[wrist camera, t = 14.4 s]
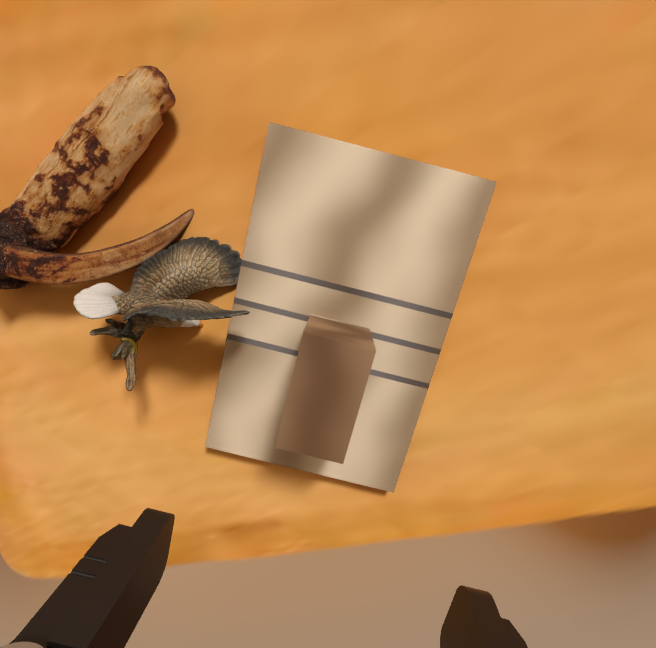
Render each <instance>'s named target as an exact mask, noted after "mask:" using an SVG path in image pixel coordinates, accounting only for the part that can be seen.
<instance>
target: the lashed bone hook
mask: <svg viewBox="0 0 656 648" xmlns="http://www.w3.org/2000/svg"><path fill="white" fill-rule="evenodd" d="M175 101H176V100H175V96H174V94H173V92H172V91H171V89H170V88H169V83H168V81H167V79H166V77H165V75H164V74H163V73H162V72H161V71H159V69H158V68H156V67H153V66H139V67H136V68H134V69H132V70H130V71H129V72H128V73H127V74H126V75H125V76H123V77H122V76H118V77H117V78H116V79H115V80H114V81H112V82H111V83H109V84H108V85H107V86H106V87H105V88H104V90H103V91H102V92H100V93H99V94H98V95H97V96H96V97H95V99H94V100H93V101H92V102H91V103H90V105H89V106H88V107H87V108H86V109H85V110H84V111H83V113H82V114H80V115H79V117H78V118H77V119H76V120H74V121H73V123H72V124H71V125H70V126H69V127H68V129H67V130H66V132H65V133H64V134H63V135H62V136H61V137H60V139H59V140H58V141H57V142H56V144H55V147H54V149H53V150H52V151H51V152H50V153H49V154H48V155H47V157H46V158H45V159H44V160H43V161H42V162H41V163H40V165H39V166H38V167H37V169H36V171H35V173H34V174H33V175H32V177H31V178H30V179H29V180H28V182H27V184H26V186H25V187H24V188H23V190H22V191H21V193H20V194H19V195H18V196H17V197H16V198H15V200H14V202H13V203H12V204H11V205H10V206H9V207H8V208H6V209H4V210H3V211H2V212H1V213H0V289H18V288H21V287H25V286H26V285H27V284H28V283H30V282H35V283H43V284H63V285H67V284H77V283H85V282H90V281H95V280H99V279H102V278H106V277H109V276H112V275H116V274H118V273H121V272H124V271H126V270H129V269H132V268H134V267H136V266H138V265H140V264H142V263H143V262H145V260H146V259H148V258H150V257H151V256H155V255H156V254H157V253H158V252H161V251H162V250H164V249H166V248H167V247H168V246H169V245H170V244H171V243H172V242H173V241H175V240H176V238H177V237H178V236H179V235H180V234H181V233H182V232H183V231H184V229H185V228H186V227H187V225H188V224H189V223H190V221H191V219H192V217H193V215H194V210H193V209H191V210H188V211H187V212H185V213H184V214H182V215H181V216H179V217H178V218H176V219H175V220H173V221H171V222H170V223H168V224H166V225H165V226H163V227H161V228H159V229H157V230H155V231H153V232H151V233H149V234H147V235H145V236H143V237H140V238H138V239H135V240H132V241H129V242H126V243H123V244H120V245H116V246H113V247H109V248H105V249H102V250H97V251H92V252H86V253H75V254H60V253H57V252H58V251H59V250H60V249H61V248H62V247H64V246H65V245H66V244H67V243H69V241H70V240H71V239H72V237H73V236H74V235H75V233H76V231H77V230H78V229H79V228H81V227H82V226H83V225H84V224H85V223H87V222H88V220H90V218H91V216H92V215H93V214H95V213H98V212H99V211H100V210H101V209H102V207H103V206H104V205H105V203H106V202H107V201H108V200H109V199H110V198H112V197H113V196H114V194H115V193H116V192H117V191H118V189H119V188H121V186H122V184H123V182H124V180H125V177H126V175H127V173H128V172H129V171H130V169H131V168H132V166H133V165H134V164H135V162H136V161H137V160H138V159H139V158H140V157H141V155H142V154H143V153H144V152H145V151H146V149H147V148H148V146H149V143H150V142H151V140H152V139H153V138H154V136H155V135H156V133H157V132H158V130H159V129H160V128H161V126H162V125H163V123H164V120H163V115H164V113H165V112H166V111H167V110H169V109H170V108H172V107H173V106H174V104H175Z"/></svg>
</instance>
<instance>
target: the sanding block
mask: <svg viewBox="0 0 656 648" xmlns="http://www.w3.org/2000/svg"><path fill="white" fill-rule="evenodd" d="M375 353H376V348H375V345H374V341H373V338H372V335H371V332H370V329H369V328H365V327H361V326H357V325H353V324H349V323H345V322H341V321H337V320H334V319H330V318H326V317H322V316H318V315H314V314H310V317H309V319H308V322H307V324H306V327H305V329H304V332H303V335H302V339H301V344H300V348H299V352H298V356H297V360H296V364H295V368H294V372H293V376H292V380H291V384H290V389H289V393H288V397H287V401H286V405H285V409H284V413H283V417H282V421H281V425H280V429H279V433H278V438H277V442H276V446H275V448H279V449H283V450H287V451H291V452H295V453H299V454H303V455H307V456H312V457H316V458H320V459H324V460H328V461H332V462H336V463H340V464H343V463H344V459H345V456H346V452H347V449H348V446H349V442H350V439H351V435H352V432H353V428H354V425H355V422H356V418H357V415H358V411H359V408H360V405H361V401H362V398H363V394H364V391H365V388H366V384H367V381H368V377H369V374H370V370H371V367H372V364H373V360H374V357H375Z"/></svg>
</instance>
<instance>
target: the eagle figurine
mask: <svg viewBox="0 0 656 648" xmlns="http://www.w3.org/2000/svg"><path fill="white" fill-rule="evenodd" d="M218 243H219V241H218V240H210V239H209V238H207V237H197V238H193V237H191V238H189V239H183V240H181V241H180V242H179V243H175V244H173V245H171V246H169V247H168V248H167V249H164V250H162V251H161V252H158V253H157V254H156V255H155V256H151V257H150V258H148V259H146V260H145V262H143V263H142V264H141V266H140V267H139V268H137V269H136V273H134V279H133V280H132V286H131V287H129V290H130V291H129V292H126V293H125V292H123V291H121V290H120V289H118V288H116V287H115V286H114V285H112V284H110V283H98V284H96V285H93V286H91V287H89V288H86V289H83V290H81V292H80V293H78V294H76V295H75V296H74V302H73V304H74V306H75V308H76V310H77V311H78V312H79V313H80V315H82V316H84V317H86V318H88V319H100V318H105V317H108V316H112V315H114V314H123V315H125V316H124V317H123V318H122V319H123V320H122V321H126V320H128V322H127V324H125V323H121V322H117V321H115V320H113V319H105V320H106V322H107V323H108V324H110V325H112V326H107V327H104V328H98V329H94V330H92V331H91V332H90V335H99V334H105V335H111V336H114V337H116V338H120V337H121V342H122V343H121V344H120V345H119V346H118V347H117V348H116V349H115V350H114V352H113V353H112V354H111V358H112V359H114V360H120V359H123V358H124V360H125V364H126V370H127V379H126V388H127V390H128V391H131V390H132V388H133V387H134V384H135V382H136V379H137V377H136V362H135V358H136V355H137V349H138V343H137V342H138V340H139V339H140V337H141V335H142V334H143V333H144V330H145V329H147V328H149V327H152V326H158V327H165V328H174V327H195V326H198V327H200V328H202V327H203V323H202V322H201V321H200V320H207V319H222V318H231V317H233V316H239V315H247V314H249V313H250V311H246V310H241V311H229V310H223V309H220V308H218V307H217V306H214V305H211V304H209V303H207V302H204V301H201V300H190V299H186V298H187V297H188V296H190V295H192V294H195V293H198V292H201V291H203V290H206V289H209V288H213V287H225V286H232V285H236V284H237V283H238V278H239V273H240V268H241V263H242V259H241V258H240V253H239V252H238V251H233V250H231V246H230V245H227V244H222V245H219V244H218Z"/></svg>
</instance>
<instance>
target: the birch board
mask: <svg viewBox="0 0 656 648" xmlns="http://www.w3.org/2000/svg"><path fill="white" fill-rule="evenodd" d="M495 185H496V182H495V181H492V180H488V179H484V178H480V177H476V176H473V175H469V174H465V173H461V172H457V171H454V170H450V169H446V168H442V167H438V166H435V165H431V164H427V163H423V162H419V161H416V160H412V159H408V158H404V157H400V156H397V155H393V154H389V153H385V152H381V151H378V150H374V149H370V148H366V147H362V146H359V145H355V144H351V143H347V142H343V141H340V140H336V139H332V138H328V137H324V136H321V135H317V134H313V133H309V132H305V131H302V130H298V129H294V128H290V127H286V126H283V125H279V124H275V123H271V122H269V126H268V131H267V136H266V141H265V146H264V151H263V157H262V162H261V167H260V172H259V177H258V182H257V187H256V192H255V197H254V202H253V207H252V212H251V217H250V222H249V228H248V233H247V238H246V243H245V248H244V253H243V258H242V263H241V268H240V273H239V278H238V283H237V288H236V293H235V299H234V304H233V309H232V311H241V310H246V311H250V313H249V314H247V315H239V316H233V317H231V319H230V324H229V329H228V334H227V339H226V344H225V349H224V354H223V359H222V364H221V370H220V375H219V380H218V385H217V390H216V395H215V400H214V405H213V410H212V415H211V420H210V425H209V430H208V435H207V441H206V446H205V447H208V448H212V449H216V450H220V451H224V452H228V453H232V454H237V455H241V456H245V457H249V458H253V459H257V460H261V461H265V462H269V463H274V464H278V465H282V466H286V467H290V468H294V469H298V470H302V471H306V472H311V473H315V474H319V475H323V476H327V477H331V478H335V479H339V480H343V481H348V482H352V483H356V484H360V485H364V486H368V487H372V488H376V489H380V490H385V491H389V492H393V493H394V490H395V487H396V484H397V481H398V478H399V475H400V472H401V469H402V465H403V462H404V459H405V456H406V453H407V450H408V447H409V444H410V441H411V438H412V435H413V432H414V429H415V426H416V423H417V420H418V417H419V414H420V411H421V408H422V405H423V402H424V399H425V396H426V393H427V390H428V387H429V384H430V381H431V378H432V375H433V372H434V369H435V366H436V363H437V360H438V357H439V354H440V351H441V348H442V345H443V342H444V339H445V336H446V333H447V330H448V327H449V324H450V321H451V318H452V315H453V312H454V309H455V306H456V303H457V300H458V297H459V294H460V291H461V288H462V285H463V282H464V279H465V276H466V273H467V270H468V267H469V264H470V261H471V258H472V255H473V252H474V249H475V246H476V243H477V240H478V237H479V233H480V230H481V227H482V224H483V221H484V218H485V215H486V212H487V209H488V206H489V203H490V200H491V197H492V194H493V191H494V188H495ZM310 314H314V315H318V316H322V317H326V318H330V319H334V320H337V321H341V322H345V323H349V324H353V325H357V326H361V327H365V328H369V329H370V332H371V335H372V338H373V341H374V345H375V348H376V353H375V357H374V360H373V364H372V367H371V370H370V374H369V377H368V381H367V384H366V388H365V391H364V394H363V398H362V401H361V405H360V408H359V411H358V415H357V418H356V422H355V425H354V428H353V432H352V435H351V439H350V442H349V446H348V449H347V452H346V456H345V459H344V463H343V464H340V463H336V462H332V461H328V460H324V459H320V458H316V457H312V456H307V455H303V454H299V453H295V452H291V451H287V450H283V449H279V448H275V446H276V442H277V438H278V433H279V429H280V425H281V421H282V417H283V413H284V409H285V405H286V401H287V397H288V393H289V389H290V384H291V380H292V376H293V372H294V368H295V364H296V360H297V356H298V352H299V348H300V344H301V339H302V335H303V332H304V329H305V327H306V324H307V322H308V319H309V317H310Z"/></svg>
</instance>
